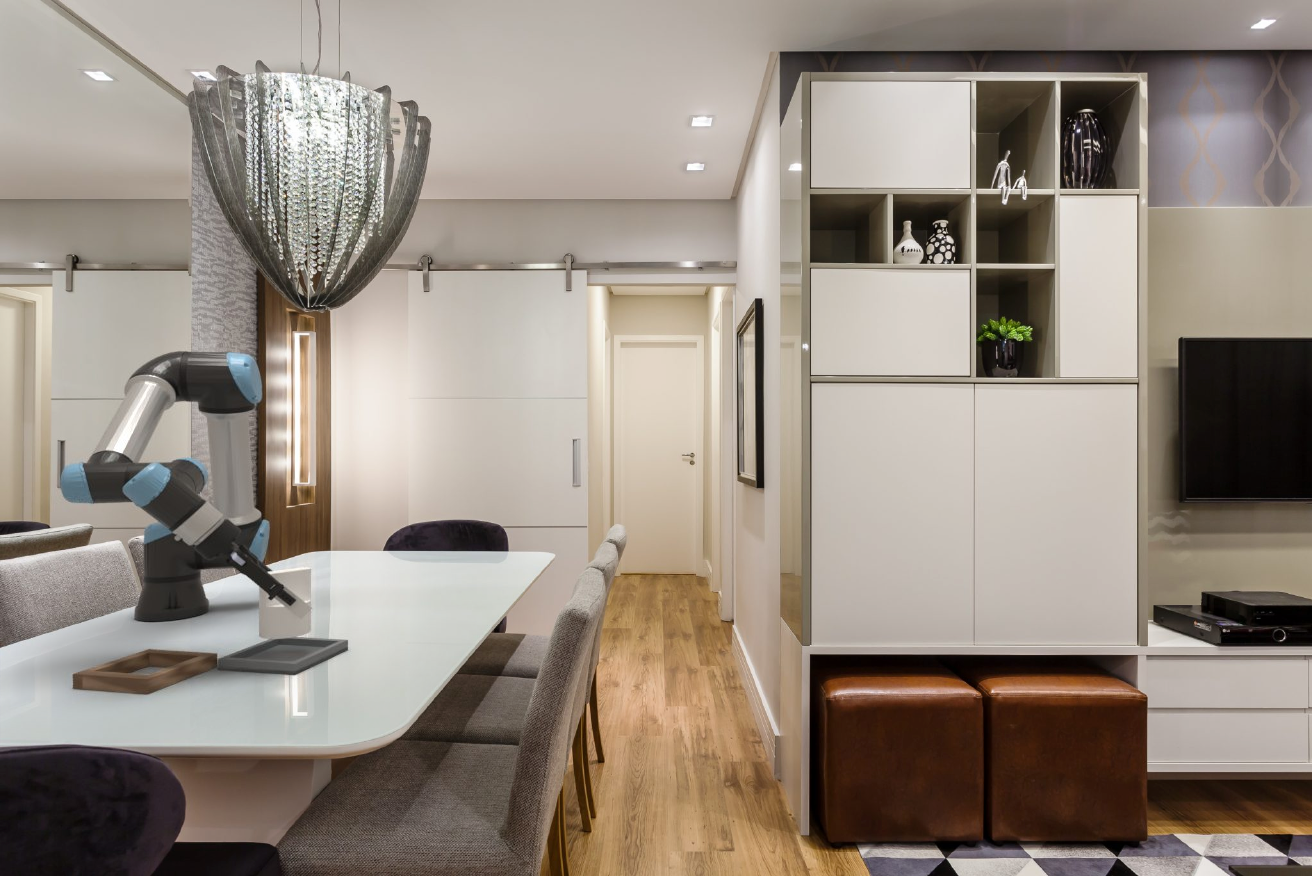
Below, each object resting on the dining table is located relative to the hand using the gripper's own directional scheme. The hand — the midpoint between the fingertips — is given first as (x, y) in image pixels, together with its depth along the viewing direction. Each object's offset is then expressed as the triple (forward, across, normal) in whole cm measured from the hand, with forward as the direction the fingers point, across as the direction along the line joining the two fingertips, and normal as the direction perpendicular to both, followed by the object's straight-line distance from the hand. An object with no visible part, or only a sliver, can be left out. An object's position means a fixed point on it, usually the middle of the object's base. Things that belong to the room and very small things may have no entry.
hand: (303, 608), depth 142 cm
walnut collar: (-11, -1, -24) cm, 27 cm away
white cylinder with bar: (+1, 0, -6) cm, 6 cm away
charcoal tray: (+5, 0, -9) cm, 10 cm away
